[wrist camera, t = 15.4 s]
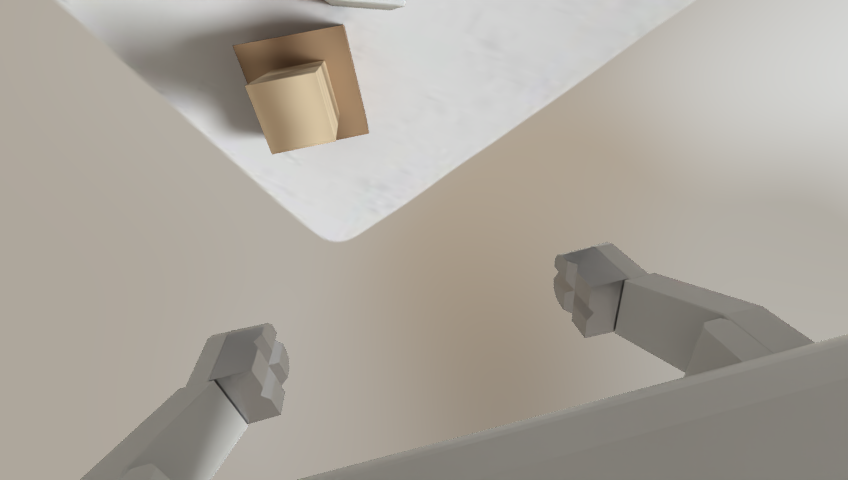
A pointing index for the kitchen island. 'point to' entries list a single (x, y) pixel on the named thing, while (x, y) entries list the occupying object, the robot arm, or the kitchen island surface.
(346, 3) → the small box
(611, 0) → the kitchen island surface
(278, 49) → the walnut block
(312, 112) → the oak block
